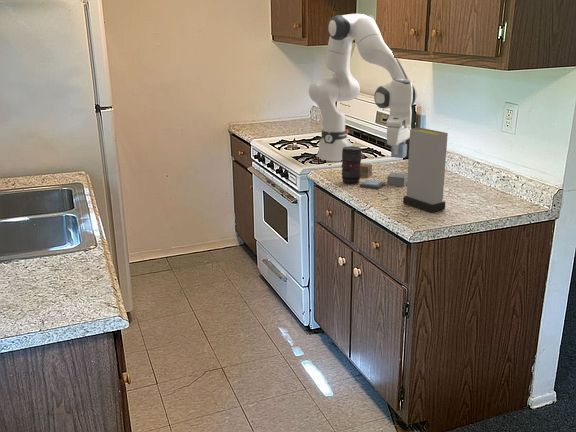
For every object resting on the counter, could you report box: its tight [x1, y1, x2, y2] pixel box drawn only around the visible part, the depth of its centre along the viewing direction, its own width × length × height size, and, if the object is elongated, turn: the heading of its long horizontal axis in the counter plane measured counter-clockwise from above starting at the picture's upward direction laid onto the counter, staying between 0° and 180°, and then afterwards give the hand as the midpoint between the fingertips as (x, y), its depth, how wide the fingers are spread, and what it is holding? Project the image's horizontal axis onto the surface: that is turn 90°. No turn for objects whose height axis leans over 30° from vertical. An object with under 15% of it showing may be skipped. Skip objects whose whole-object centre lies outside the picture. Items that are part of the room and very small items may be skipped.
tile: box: [359, 179, 386, 190], centre depth 247 cm, size 8×8×2 cm
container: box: [402, 127, 449, 213], centre depth 215 cm, size 7×18×30 cm, turn 34°
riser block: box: [386, 172, 408, 187], centre depth 249 cm, size 7×7×4 cm
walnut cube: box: [360, 163, 373, 179], centre depth 262 cm, size 5×5×5 cm
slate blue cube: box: [390, 143, 408, 159], centre depth 245 cm, size 5×5×5 cm
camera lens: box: [341, 145, 363, 185], centre depth 250 cm, size 8×8×15 cm
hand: (398, 152), depth 246 cm, fingers closed on slate blue cube, 5 cm apart
